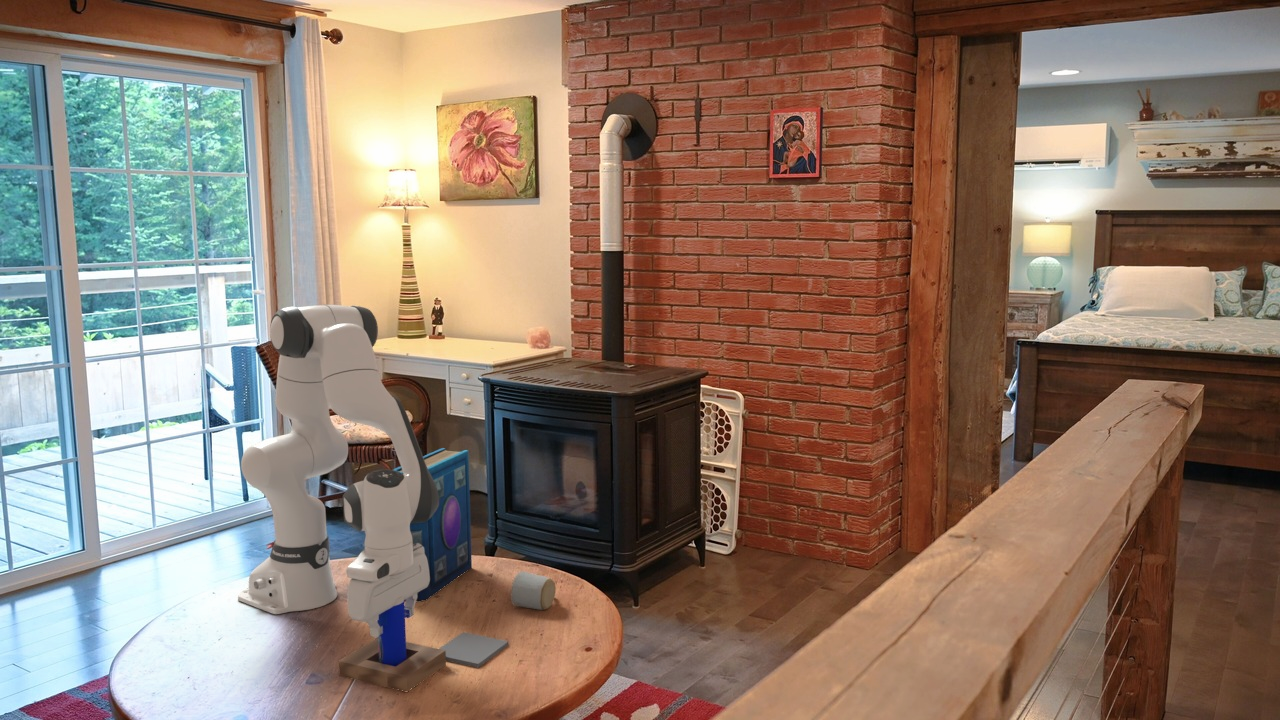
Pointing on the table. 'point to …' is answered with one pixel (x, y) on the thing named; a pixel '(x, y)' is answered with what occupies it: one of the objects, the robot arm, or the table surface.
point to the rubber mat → (472, 649)
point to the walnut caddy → (401, 677)
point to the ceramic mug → (532, 591)
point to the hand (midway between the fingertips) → (392, 625)
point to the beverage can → (393, 635)
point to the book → (446, 521)
